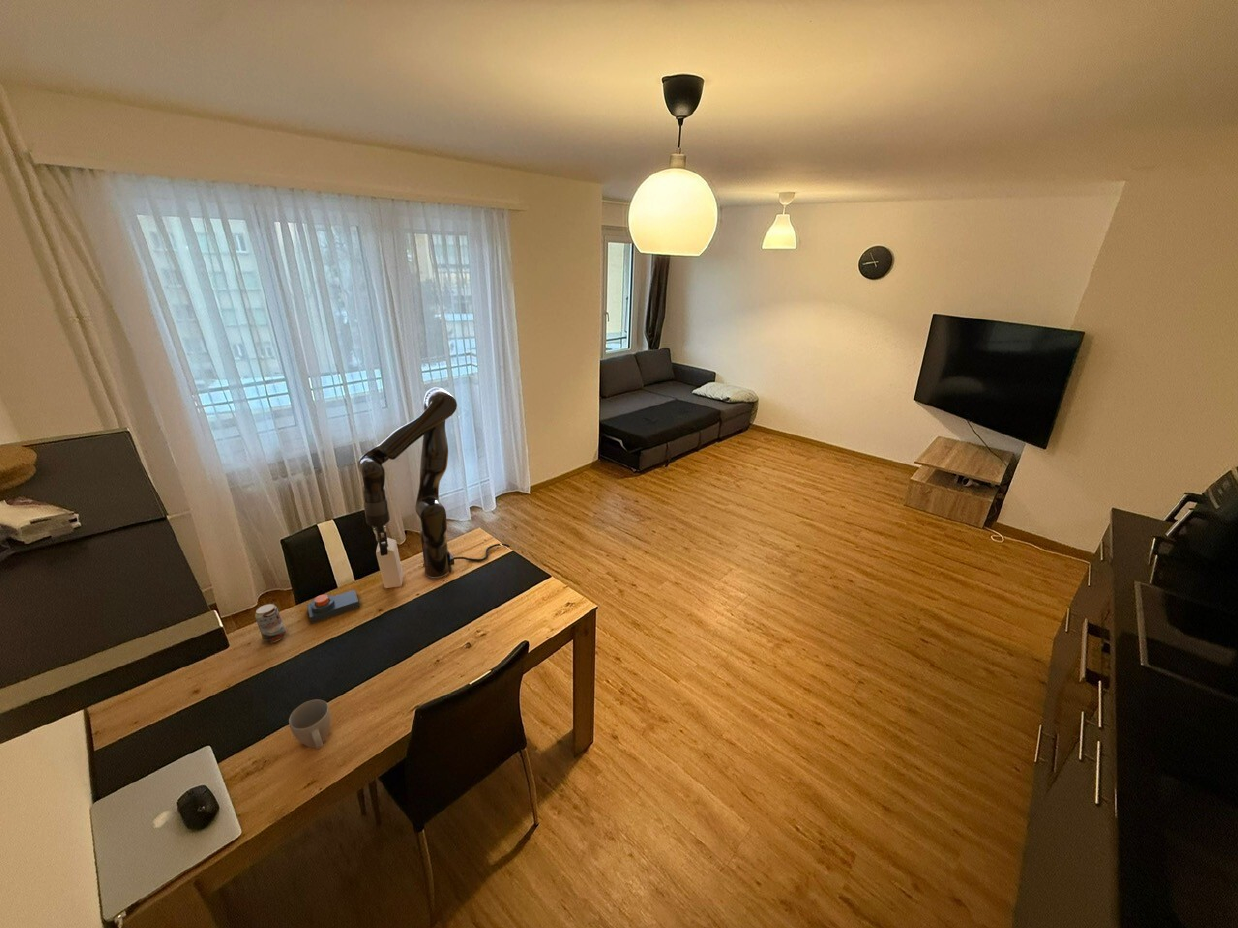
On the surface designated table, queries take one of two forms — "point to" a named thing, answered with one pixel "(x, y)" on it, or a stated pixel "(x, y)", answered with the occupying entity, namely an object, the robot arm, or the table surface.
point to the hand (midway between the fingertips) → (382, 548)
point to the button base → (333, 606)
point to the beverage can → (270, 623)
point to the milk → (390, 565)
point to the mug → (311, 723)
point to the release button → (321, 600)
